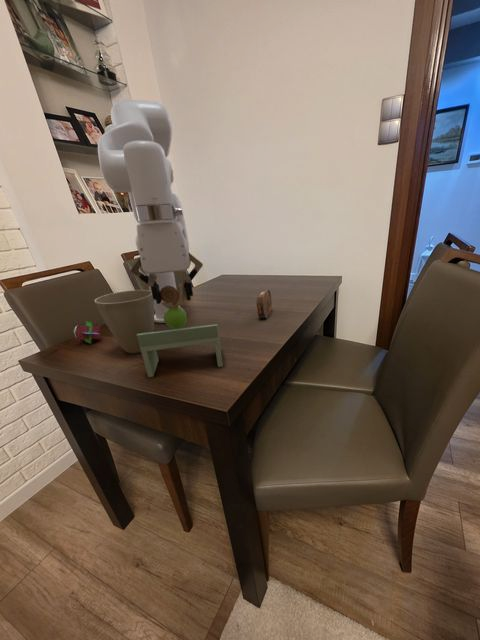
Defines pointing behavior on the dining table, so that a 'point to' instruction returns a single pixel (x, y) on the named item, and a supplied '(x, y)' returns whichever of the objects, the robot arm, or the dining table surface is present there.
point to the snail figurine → (174, 306)
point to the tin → (264, 304)
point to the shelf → (176, 343)
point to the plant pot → (128, 316)
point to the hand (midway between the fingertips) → (174, 300)
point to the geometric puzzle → (87, 332)
